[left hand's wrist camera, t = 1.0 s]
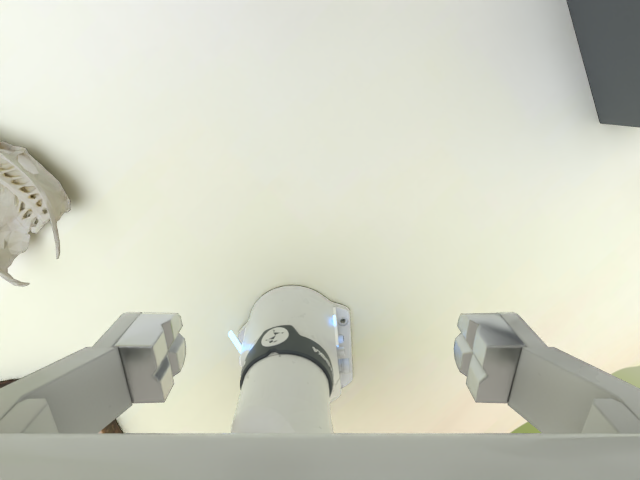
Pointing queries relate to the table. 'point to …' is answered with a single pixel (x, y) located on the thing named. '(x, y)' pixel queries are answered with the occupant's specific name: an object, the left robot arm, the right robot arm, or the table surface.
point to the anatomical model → (25, 204)
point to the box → (611, 56)
